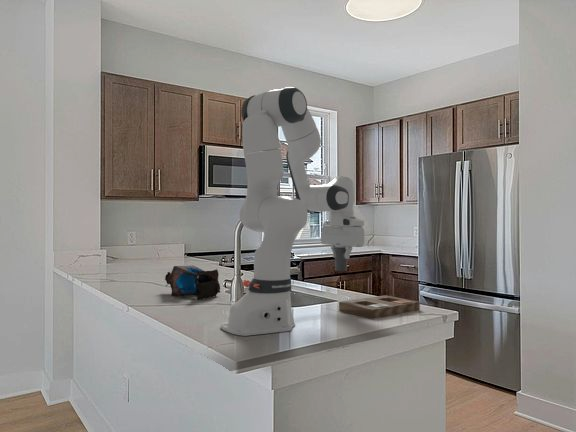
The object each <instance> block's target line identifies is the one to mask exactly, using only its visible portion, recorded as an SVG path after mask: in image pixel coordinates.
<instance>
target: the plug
mask: <svg viewBox="0 0 576 432" xmlns="http://www.w3.org/2000/svg"><path fill="white" fill-rule="evenodd" d="M346 250H347V249H345V246H341V245H340V244H335V257H334V271H335V272H348V259H344V258H343V257H344V256H343V254H345V252H346Z"/></svg>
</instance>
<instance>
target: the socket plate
mask: <svg viewBox="0 0 576 432" xmlns="http://www.w3.org/2000/svg"><path fill="white" fill-rule="evenodd" d="M420 304H421V302H420V301H416V300H412V299H406V298H401V297H397V296H392V295H386V294H385V295H383V294H382V295H378V296H376V295H375V296H371V297H363V298H356V299H351V300H343V301H339V302H338V308H339V309H338V311H339V312H344V313H348V314H350V315H351V314H353V315H355V316H359V317H363V318H367V319H371V320H375V319H381V318H386V317H392V316H397V315H401V314H407V313H411V312H418V311H421V309H420V307H421V305H420Z"/></svg>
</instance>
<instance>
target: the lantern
mask: <svg viewBox="0 0 576 432" xmlns="http://www.w3.org/2000/svg"><path fill="white" fill-rule="evenodd" d="M164 280H165V282H166V286H170V289H171V296H172V297H177V296H182V299H183V298H184V296H196V301H198V300H203V298H205V299H209V298H214V297H213V296H216V297H217V294H219V293H221V285H220V283H219V270H218V269H217V268H216V269H214V270H206V271H205V270H203V269H201V268H200V267H197V266H195V265H174V266H173V267H172V269H171V271H168V272H167V273H166V274H165V277H164ZM208 297H209V298H208Z"/></svg>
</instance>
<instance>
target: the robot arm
mask: <svg viewBox="0 0 576 432" xmlns="http://www.w3.org/2000/svg"><path fill="white" fill-rule="evenodd" d="M307 102H308V101H307V98H306V96H305V94H304V93H303V91H302V90H300V89H299V88H297V87H293V86H287V87H284V88H281V89H278V88H277V89H273V90H267V91H263V92H261V93H258V94H255V95H252V96H250V97H248V98H246V99H245V100H244V101H243V102H242V106H241V110H240V111H241V118H242V121H243V122H242V129H241V131H242V132H241V134H242V135H241V137H242V139H241V140H242V148H243V155H244V162H245V169H246V170H245V171H246V175H247V176H246V177H247V187H246V196H245V200H244V202H243V204H242V205H241V207H240V209H239V219H240V223H241V224H242V225H243V226H244V227H245V228H247V229H249V230H252V231H254V232H259V233H264V234H263V238H262V241H261V244H260V246H259V247H257V248H256V250H255V251H254V254H253V277H252V279H251V280H247V279H244V280H242V282H241V285H242V286H243V288H244V287H245V288H248V291H247V292H246V293H245V294H243V296H241V297H240V298H239V299H238V300H237V301H235V303H234V304H232V305H231V307H230V309H229V314H228V321H224V322H222V323H221V324H220V328H221V329H222V330H223V331H224V332H227V333H229V334H232V335H237V336H242V337H246V336H255V335H264V334H266V335H267V334H275V333H283V332H290V331H293V327H295V325H296V323H295V319H294V316H293V315H294V314H293V310H292V309H293V308H292V302H291V301H292V299H291V292H292V278H291V257H292V251H293V246H294V244H295V240H296V238H297V236H298V234H299V232H301V230H302V229H304V227H305V226H306V225H307V222H308V218H309V213H314V212H323V213H324V212H329V220H325V221H324V223H323V224H322V228H321V232H320V233H321V235H320V243H321V245H328V246H330V249H331V252H332V257H333V258H335V244H340V245H341V246H345V249H347V250H346V252H345V254H343V256H344V257H343V258H344V259H347V260H349V259H350V256H351V255H350V254H351V253H352V251H353V248H362V247H364V245H365V230H364V226H365V220H363V219H361V218H359V217H357V216H355V214H354V213H355V211H354V204H355V203H354V202H355V187H354V182H353V180H352V179H351V178H349V177H346V176H341V175H339V176H335V177H334V176H333V178H332V180H331V181H330V182H328V183H326V184H317V185H314V184H312V183H310V181H309V178H308V175H307V170H306V168H305V162H307V161H308V160H310V159H311V158H313V156H315V154H317V152H318V151H319V149H320V147H321V144H322V140H321V139H322V138H321V135H320V132H319V129H318V126H317V124H316V122H315V119H314V117H313V116H312V114H311V112H310V111H309V109H308V103H307ZM279 127H281V130H282V132H283V136H284V138H285V141H286V143H287V147H288V148H287V149H288V150H287V151H286V155H285V156H286V163H287V167H288V171H289V174H290V179H291V182H292V185H293V189H294V193H295V197H293V196H286V195H283V196H282V195H280V196H278V194H277V193H278V187H279V183H280V182H281V180H282V179H283V178H284V175H285V170H284V169H285V168H284V162H283V156H282V149H281V144H280V143H281V142H280V138H279V135H278V131H277V129H278V128H279Z"/></svg>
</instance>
